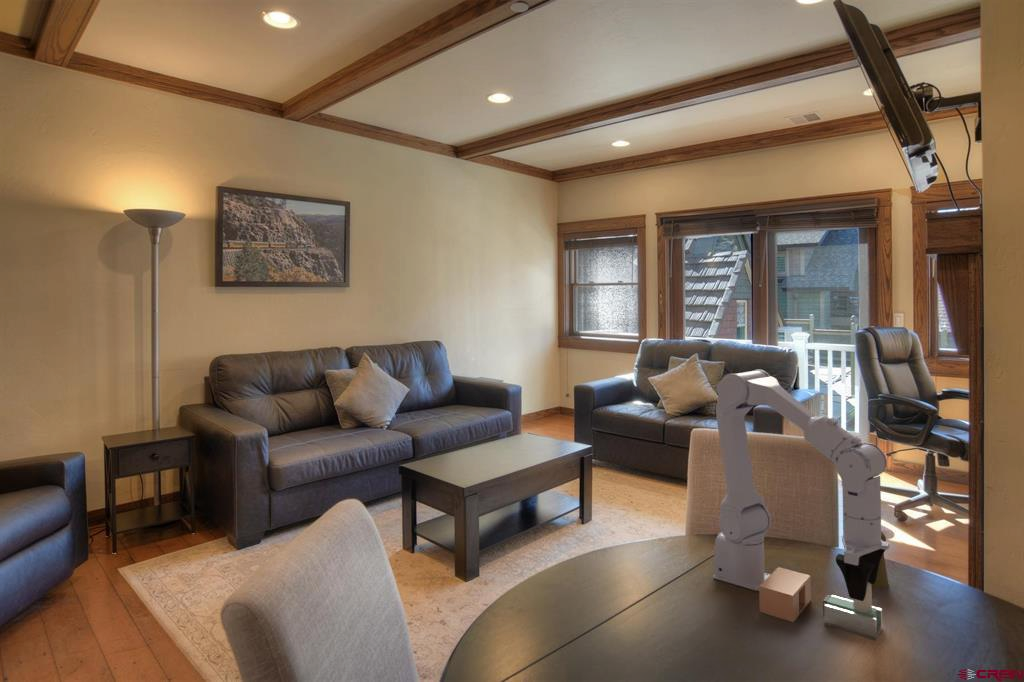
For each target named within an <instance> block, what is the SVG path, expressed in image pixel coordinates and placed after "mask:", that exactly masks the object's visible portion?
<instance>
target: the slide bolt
mask: <svg viewBox="0 0 1024 682" xmlns="http://www.w3.org/2000/svg"><path fill="white" fill-rule="evenodd" d="M872 591H873V589H872V585H871V584H870V583H869V582H868V583H867V590H866V595H865V599H864V601H860V600H856V599H852V601H853V602H851V601H848V600H844V599H841V598H837V597H833V596H832V595H831V594H827V595H826V596H825V597H824V598H823V600H822V617H823V618H824V605H825V604H829V605H832V606H836V607H839V608H843V609H846V610H850V611H853V612H857V613H860V614H863V615H867V616H870V617H874V618H877V609H876V608H873V607H872V606H873V604H872V603H873V600H872V599H873V596H872V594H873V593H872Z"/></svg>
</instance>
